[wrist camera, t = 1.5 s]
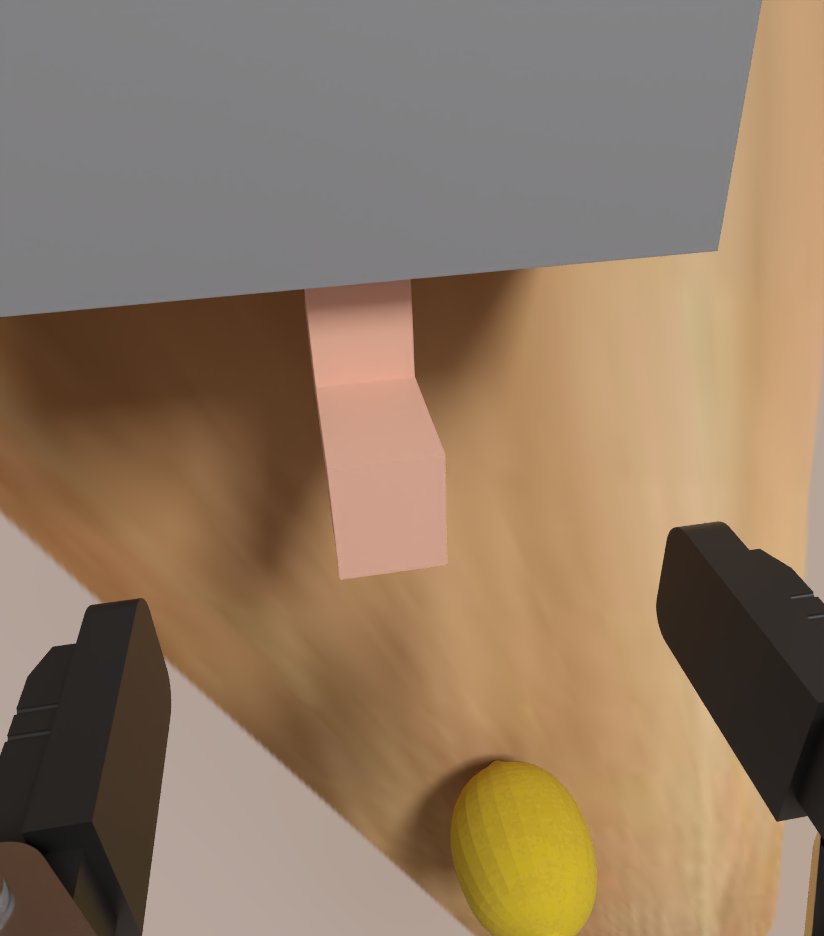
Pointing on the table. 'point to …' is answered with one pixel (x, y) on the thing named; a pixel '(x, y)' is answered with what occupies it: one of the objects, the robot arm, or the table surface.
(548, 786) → the lemon
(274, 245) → the sleeve
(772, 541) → the table surface
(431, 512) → the drawer
